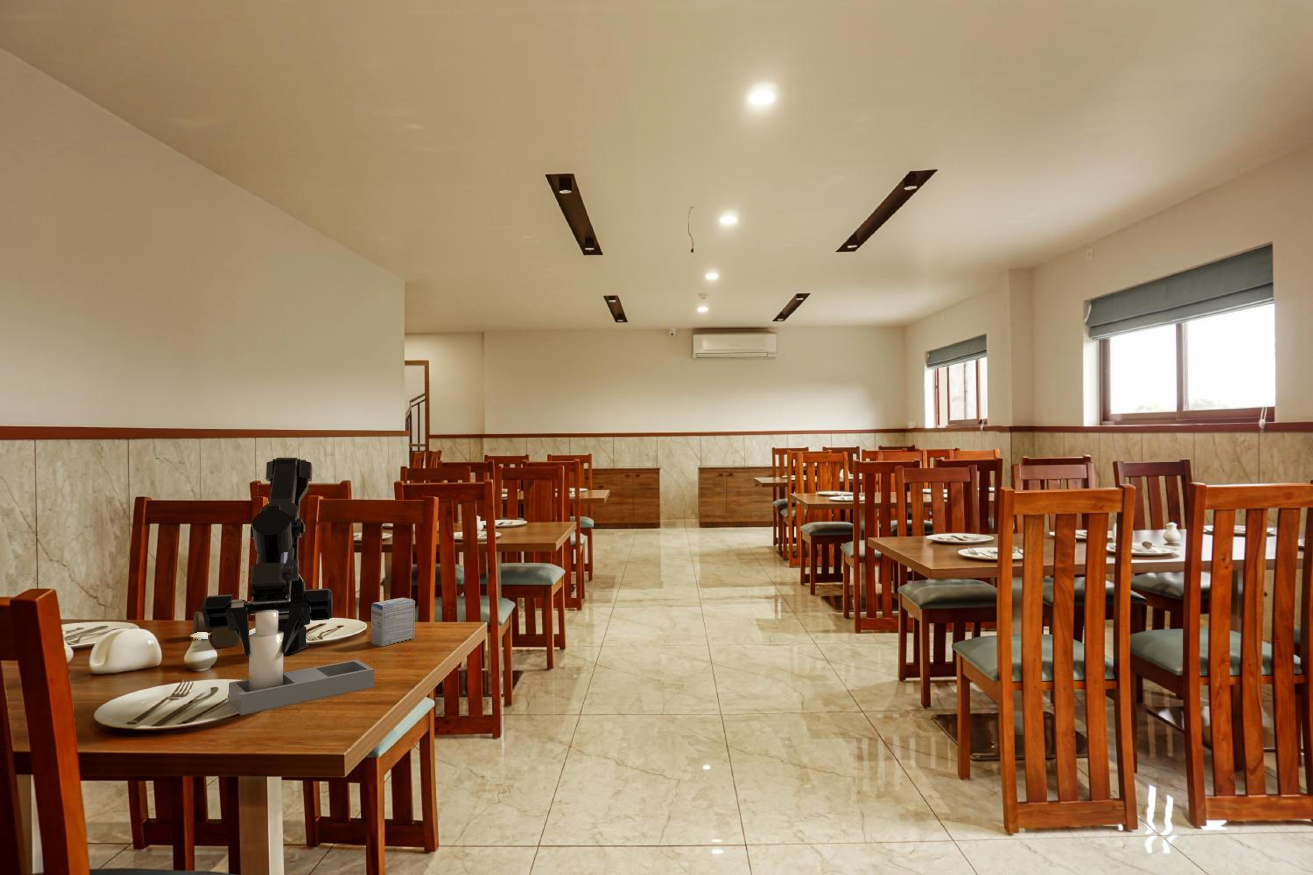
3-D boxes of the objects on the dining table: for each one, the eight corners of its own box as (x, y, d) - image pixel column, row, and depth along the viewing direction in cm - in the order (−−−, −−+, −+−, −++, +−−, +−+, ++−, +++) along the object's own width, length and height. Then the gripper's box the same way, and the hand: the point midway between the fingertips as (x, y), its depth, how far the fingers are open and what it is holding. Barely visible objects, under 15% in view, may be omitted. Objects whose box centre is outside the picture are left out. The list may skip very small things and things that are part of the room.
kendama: (199, 654, 147) (189, 632, 163) (252, 648, 153) (238, 628, 169) (200, 625, 147) (191, 606, 163) (254, 620, 153) (240, 602, 169)
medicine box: (402, 636, 160) (402, 597, 160) (414, 639, 157) (415, 599, 158) (370, 643, 154) (370, 602, 154) (382, 647, 151) (383, 605, 151)
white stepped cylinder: (241, 693, 114) (243, 613, 114) (269, 684, 118) (270, 607, 119) (261, 697, 112) (263, 616, 112) (289, 688, 116) (290, 610, 117)
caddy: (228, 705, 115) (228, 682, 115) (356, 679, 129) (357, 659, 129) (240, 718, 109) (240, 694, 109) (373, 690, 123) (374, 669, 123)
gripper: (205, 545, 116) (189, 630, 105) (332, 540, 123) (329, 619, 113) (213, 586, 123) (198, 670, 113) (333, 579, 130) (330, 657, 120)
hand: (265, 653), depth 114 cm, fingers closed on white stepped cylinder, 5 cm apart
